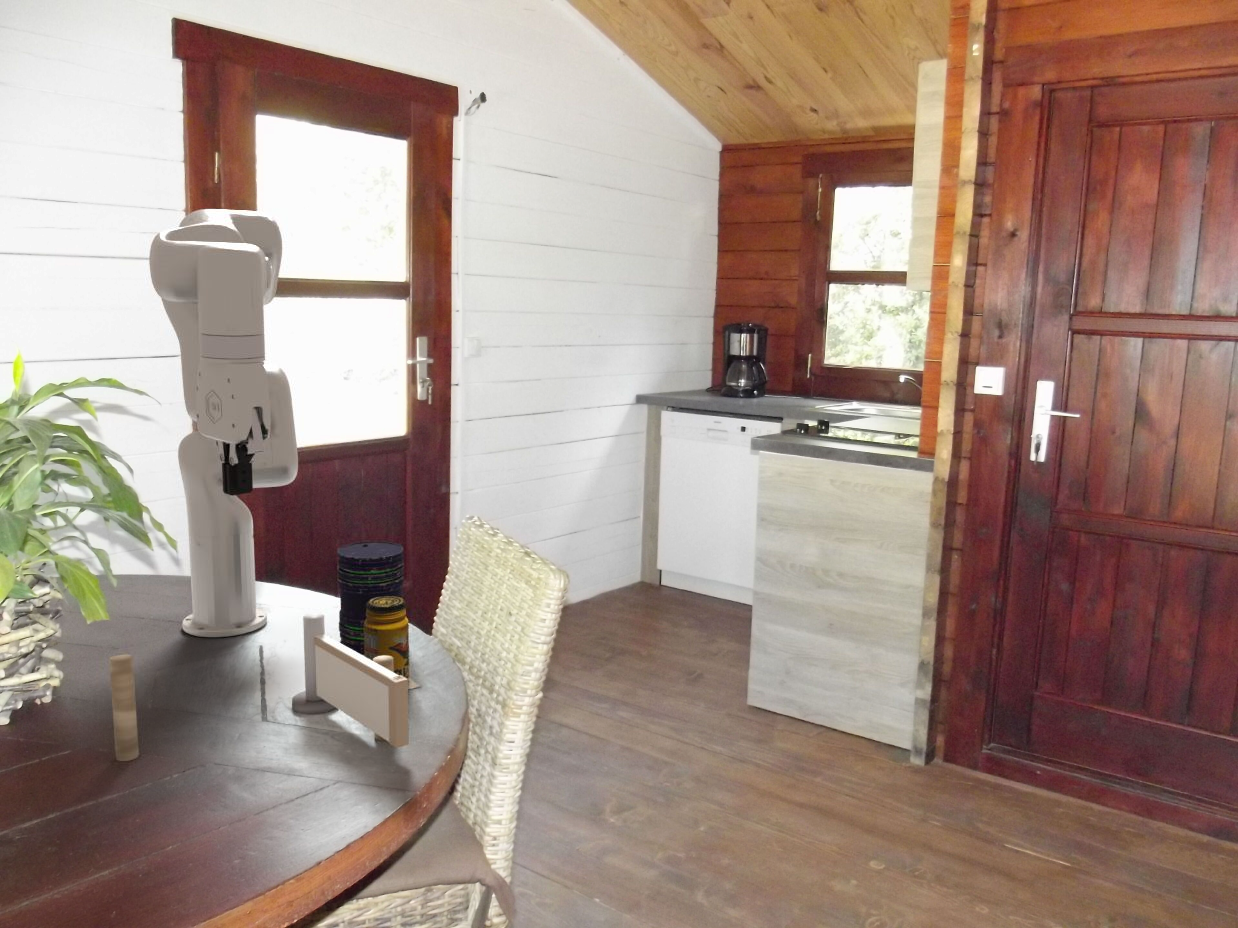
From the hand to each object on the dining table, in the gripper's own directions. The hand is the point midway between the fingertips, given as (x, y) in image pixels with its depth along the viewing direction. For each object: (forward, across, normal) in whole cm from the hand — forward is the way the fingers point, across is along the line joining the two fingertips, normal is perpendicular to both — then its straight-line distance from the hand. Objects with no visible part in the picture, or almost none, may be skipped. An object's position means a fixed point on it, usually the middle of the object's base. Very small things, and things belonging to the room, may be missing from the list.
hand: (238, 492), depth 130 cm
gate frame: (+28, +13, -7) cm, 31 cm away
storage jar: (+29, -5, +24) cm, 38 cm away
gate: (+26, +19, +4) cm, 32 cm away
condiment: (+28, +9, +15) cm, 33 cm away
